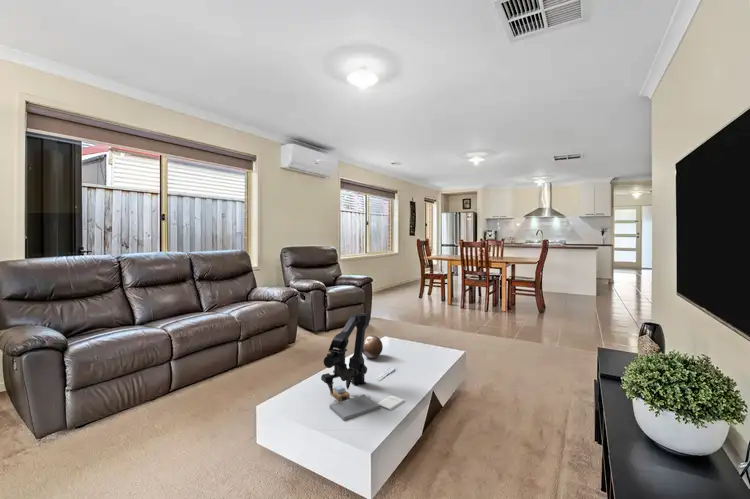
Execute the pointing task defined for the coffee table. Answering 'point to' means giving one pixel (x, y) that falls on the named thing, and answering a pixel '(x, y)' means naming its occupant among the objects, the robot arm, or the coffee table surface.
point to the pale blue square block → (339, 389)
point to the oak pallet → (340, 395)
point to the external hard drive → (390, 402)
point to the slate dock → (354, 407)
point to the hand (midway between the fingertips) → (339, 391)
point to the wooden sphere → (372, 347)
